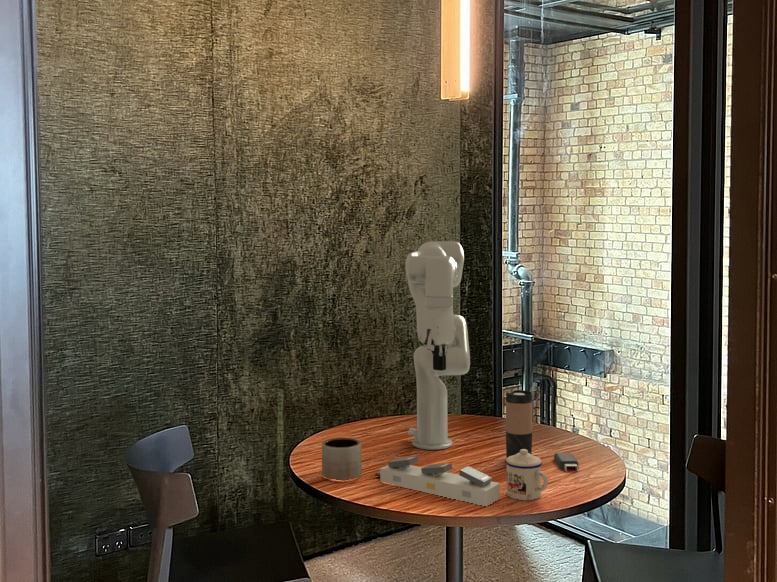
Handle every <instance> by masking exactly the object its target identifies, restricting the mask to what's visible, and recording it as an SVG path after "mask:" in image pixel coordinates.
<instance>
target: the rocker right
mask: <svg viewBox="0 0 777 582" xmlns="http://www.w3.org/2000/svg"><path fill="white" fill-rule="evenodd" d="M458 475H460V476H462V477H464V478H466V479H468V480H470V481H472V482H474V483H476V484H478V485H480V486H482V487H484V486H486V485H487V484H489V483H491V481H492V479H493V477H492V476H489V475H488V474H486V473H483V472H481V471H479V470H478V469H475V468H473V467H471V466H465V467H463V468H461V469H460V470H459V473H458Z"/></svg>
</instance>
